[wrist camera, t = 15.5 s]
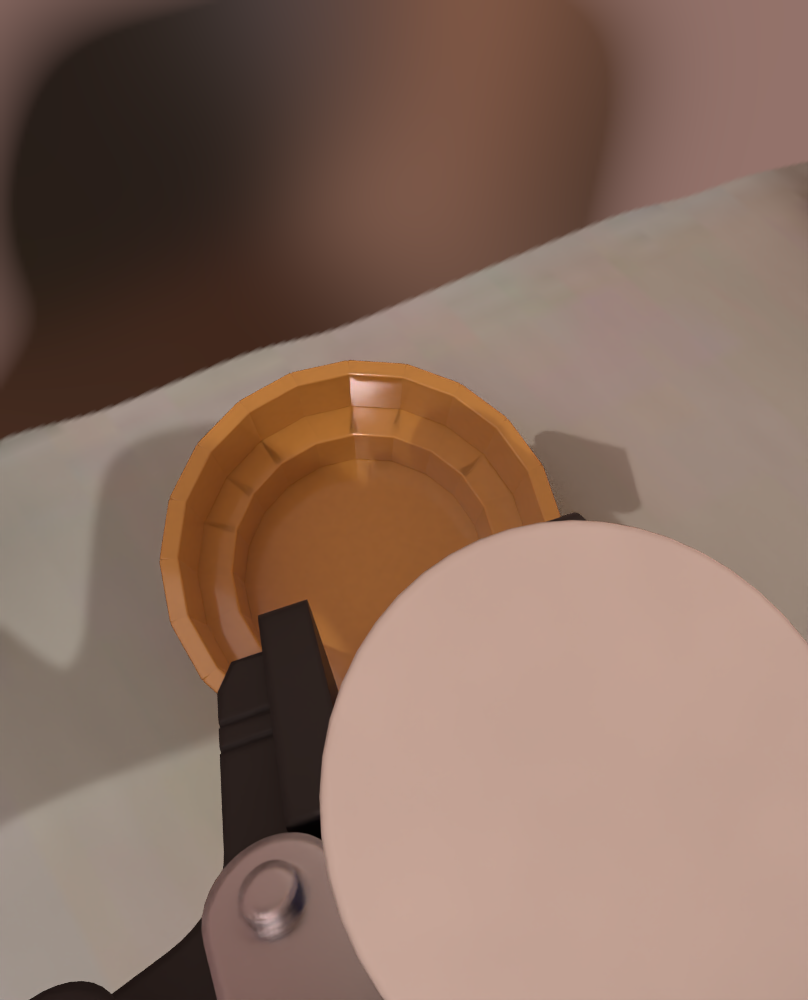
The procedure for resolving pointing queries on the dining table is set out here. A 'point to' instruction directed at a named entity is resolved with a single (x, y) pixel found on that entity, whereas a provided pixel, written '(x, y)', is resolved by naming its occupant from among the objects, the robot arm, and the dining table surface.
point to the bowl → (335, 504)
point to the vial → (573, 778)
